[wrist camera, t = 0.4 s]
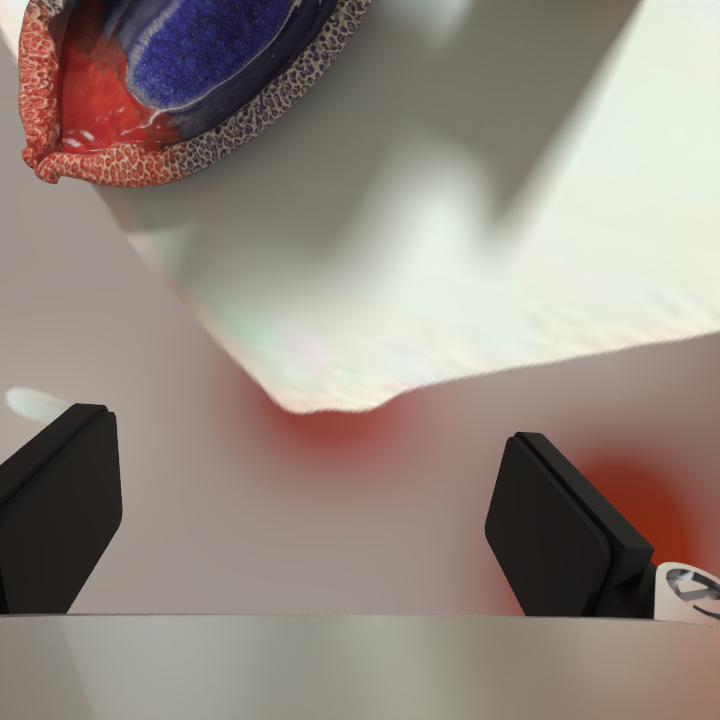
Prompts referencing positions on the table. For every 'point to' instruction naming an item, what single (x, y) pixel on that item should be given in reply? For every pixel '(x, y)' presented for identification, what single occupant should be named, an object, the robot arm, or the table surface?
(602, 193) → the table surface
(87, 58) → the dish
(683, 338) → the table surface
